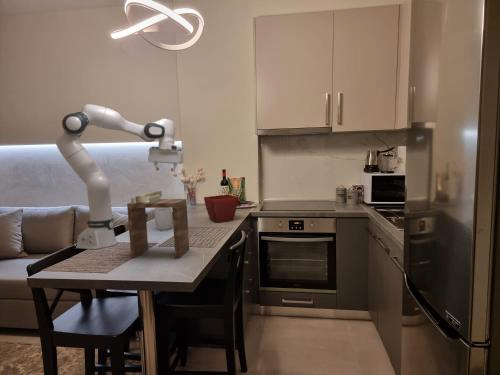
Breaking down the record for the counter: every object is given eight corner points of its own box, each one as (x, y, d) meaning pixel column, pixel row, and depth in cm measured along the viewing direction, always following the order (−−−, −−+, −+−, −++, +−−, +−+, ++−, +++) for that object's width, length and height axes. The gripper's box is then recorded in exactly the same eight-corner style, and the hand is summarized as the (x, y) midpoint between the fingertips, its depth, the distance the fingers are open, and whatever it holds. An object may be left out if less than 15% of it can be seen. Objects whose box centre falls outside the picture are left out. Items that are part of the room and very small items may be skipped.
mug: (168, 225, 234) (167, 206, 233) (180, 226, 229) (179, 207, 227) (151, 230, 222) (150, 210, 220) (164, 232, 216) (162, 211, 214)
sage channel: (131, 203, 164) (130, 198, 164) (141, 199, 175) (141, 194, 174) (151, 202, 162) (150, 197, 162) (160, 199, 173) (160, 194, 173)
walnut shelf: (131, 257, 165) (127, 203, 162) (144, 249, 179) (141, 199, 176) (179, 258, 161) (176, 203, 158) (189, 249, 175) (186, 198, 172)
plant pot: (204, 219, 250) (203, 196, 248) (229, 216, 258) (228, 194, 256) (213, 224, 233) (211, 199, 231) (239, 221, 241) (238, 197, 239)
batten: (135, 202, 162) (135, 196, 161) (156, 196, 183) (155, 190, 183) (141, 202, 161) (141, 196, 161) (161, 196, 183) (161, 190, 182)
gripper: (147, 145, 200) (145, 169, 200) (181, 147, 197) (179, 171, 197) (151, 146, 206) (150, 170, 206) (184, 148, 203) (183, 172, 203)
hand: (164, 170), depth 202 cm, fingers open, 8 cm apart
